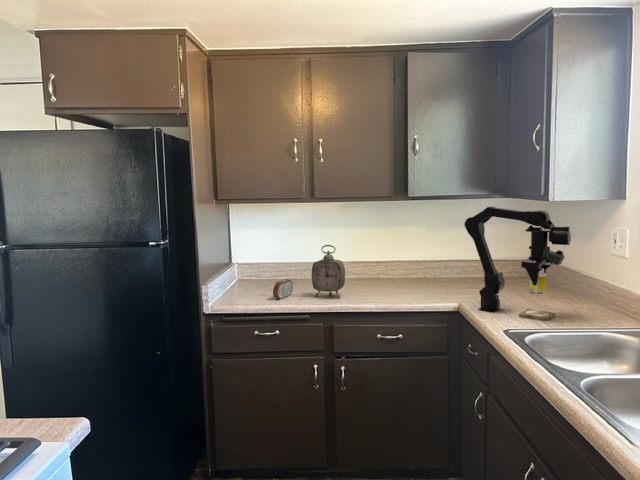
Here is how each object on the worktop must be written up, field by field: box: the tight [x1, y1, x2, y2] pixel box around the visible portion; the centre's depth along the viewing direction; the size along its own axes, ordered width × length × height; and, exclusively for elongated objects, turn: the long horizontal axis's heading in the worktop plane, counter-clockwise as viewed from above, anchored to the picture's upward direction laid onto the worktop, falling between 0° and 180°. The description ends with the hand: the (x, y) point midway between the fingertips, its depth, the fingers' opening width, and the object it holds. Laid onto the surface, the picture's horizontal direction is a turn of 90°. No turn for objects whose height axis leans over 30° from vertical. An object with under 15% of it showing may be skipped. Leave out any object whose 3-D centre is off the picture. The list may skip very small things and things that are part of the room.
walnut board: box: [518, 308, 556, 322], centre depth 175 cm, size 10×10×1 cm
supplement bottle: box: [529, 268, 547, 297], centre depth 174 cm, size 6×6×10 cm
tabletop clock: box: [311, 244, 346, 299], centre depth 215 cm, size 14×9×25 cm, turn 72°
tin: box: [272, 278, 294, 300], centre depth 217 cm, size 15×3×8 cm, turn 154°
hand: (537, 284), depth 174 cm, fingers closed on supplement bottle, 6 cm apart
